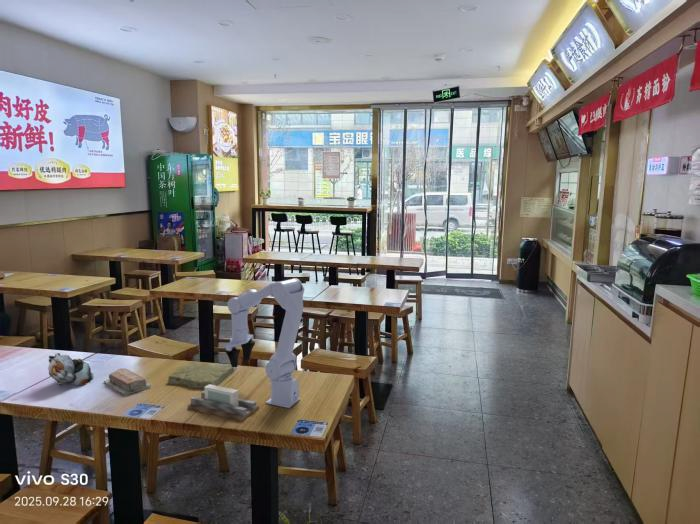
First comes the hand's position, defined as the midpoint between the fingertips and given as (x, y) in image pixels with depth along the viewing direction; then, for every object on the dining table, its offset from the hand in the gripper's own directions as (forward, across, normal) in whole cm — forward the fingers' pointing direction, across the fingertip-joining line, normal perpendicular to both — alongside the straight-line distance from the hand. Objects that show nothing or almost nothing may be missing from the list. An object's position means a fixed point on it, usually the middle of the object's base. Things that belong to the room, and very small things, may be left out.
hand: (240, 363), depth 177 cm
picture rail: (+9, +17, +5) cm, 20 cm away
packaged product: (+10, +16, -40) cm, 45 cm away
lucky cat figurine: (+10, +23, -61) cm, 66 cm away
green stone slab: (+10, -1, -20) cm, 22 cm away
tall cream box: (+8, +17, +4) cm, 19 cm away
